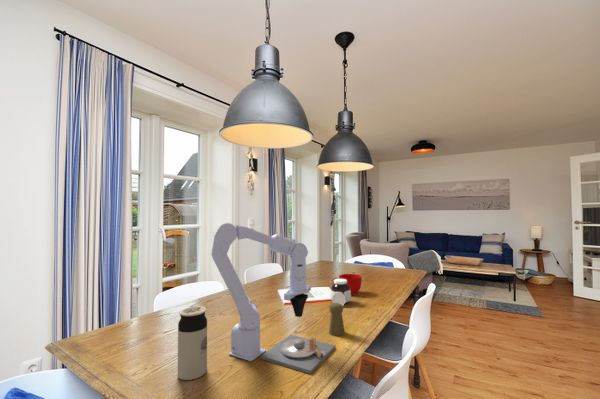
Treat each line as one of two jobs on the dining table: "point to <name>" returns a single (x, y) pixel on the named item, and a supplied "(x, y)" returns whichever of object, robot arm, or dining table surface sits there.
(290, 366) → the turntable base
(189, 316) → the travel mug
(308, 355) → the flange plate
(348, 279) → the ceramic cup
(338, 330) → the cork
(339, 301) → the spread jar
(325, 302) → the dining table surface
